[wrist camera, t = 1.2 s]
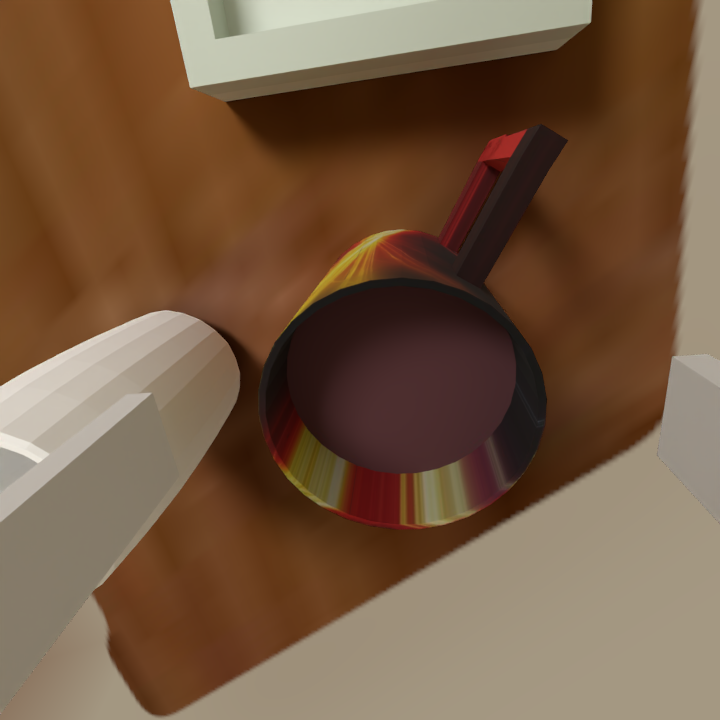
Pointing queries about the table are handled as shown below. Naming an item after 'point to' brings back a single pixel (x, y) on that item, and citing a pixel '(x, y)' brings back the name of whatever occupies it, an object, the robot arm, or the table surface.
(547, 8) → the tray
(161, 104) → the table surface
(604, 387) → the table surface
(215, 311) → the table surface
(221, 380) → the cup
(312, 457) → the mug
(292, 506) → the table surface
